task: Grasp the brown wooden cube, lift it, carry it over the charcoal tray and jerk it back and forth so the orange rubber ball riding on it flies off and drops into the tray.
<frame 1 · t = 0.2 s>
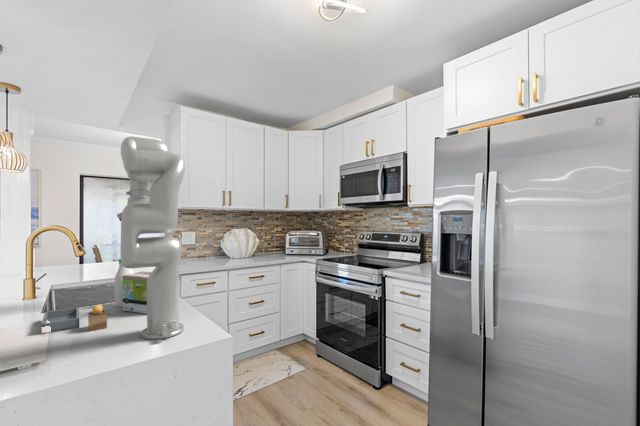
hand: (140, 233, 139), 31 cm above the table, tool pointing down, fingers open, 9 cm apart
tray: (61, 324, 113), on the table
brown wooden cube: (97, 328, 109), on the table, touching ball
tea box: (146, 310, 130), on the table
milk bottle: (125, 305, 137), on the table
ball: (97, 313, 109), point 5 cm above the table, touching brown wooden cube
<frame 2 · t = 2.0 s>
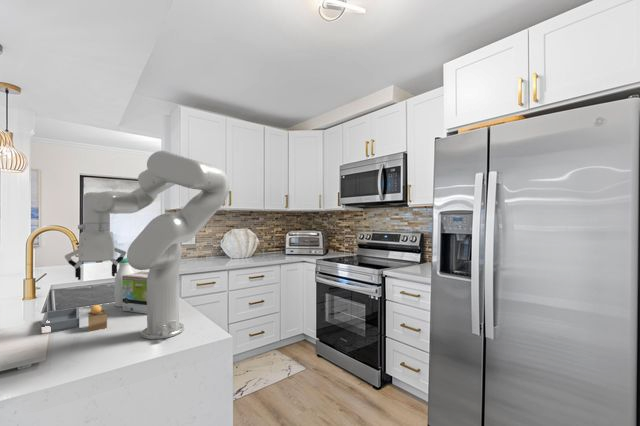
hand: (96, 277, 109), 17 cm above the table, tool pointing down, fingers open, 9 cm apart
ball: (97, 313, 109), point 5 cm above the table, tilted 17°, touching brown wooden cube
everything else where it was.
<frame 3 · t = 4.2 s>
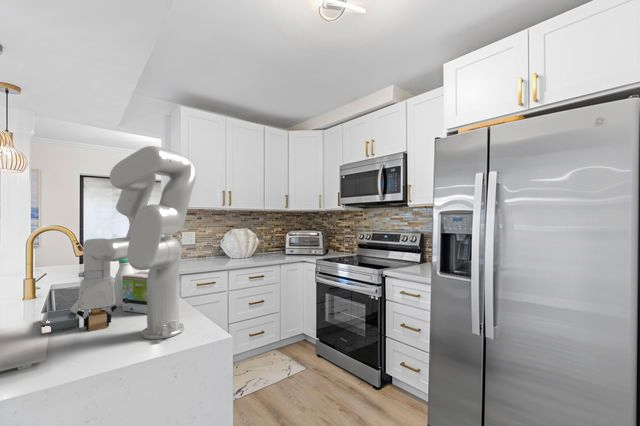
hand: (97, 326, 109), 0 cm above the table, tool pointing down, fingers closed on brown wooden cube, 5 cm apart
brown wooden cube: (97, 327, 109), on the table, touching ball, gripper
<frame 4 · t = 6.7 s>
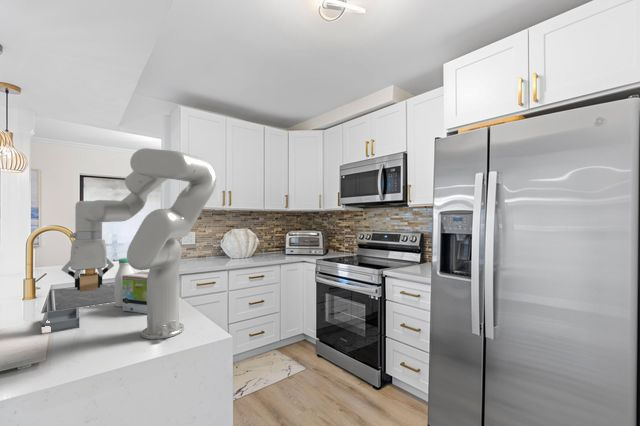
hand: (88, 287, 110), 14 cm above the table, tool pointing down, fingers closed on brown wooden cube, 5 cm apart
brown wooden cube: (88, 289, 110), point 13 cm above the table, touching ball, gripper
ball: (89, 274, 110), point 18 cm above the table, tilted 35°, touching brown wooden cube
everything else where it was.
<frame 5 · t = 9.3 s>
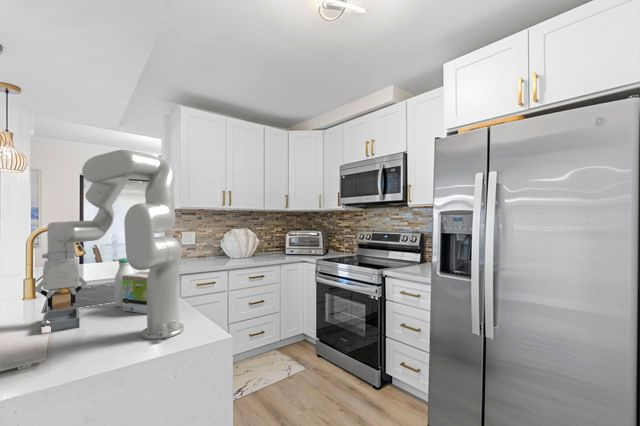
hand: (61, 306, 113), 6 cm above the table, tool pointing down, fingers closed on brown wooden cube, 5 cm apart
brown wooden cube: (61, 307, 113), point 6 cm above the table, touching ball, gripper
ball: (62, 291, 113), point 11 cm above the table, tilted 52°, touching brown wooden cube
everything else where it was.
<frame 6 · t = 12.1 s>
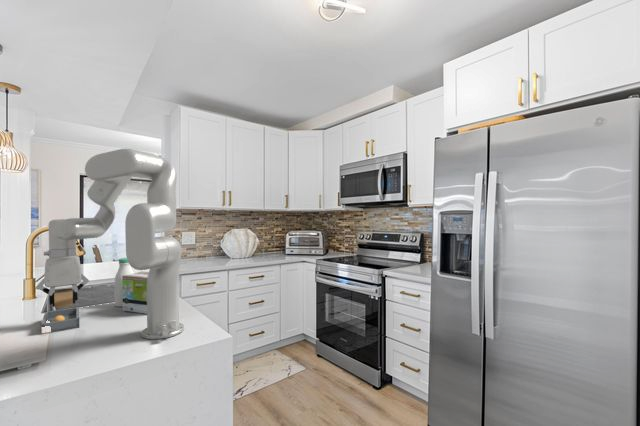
hand: (64, 303, 113), 7 cm above the table, tool pointing down, fingers closed on brown wooden cube, 5 cm apart
brown wooden cube: (64, 305, 113), point 7 cm above the table, touching gripper
ball: (57, 315, 110), point 4 cm above the table, tilted 165°, touching tray
everything else where it was.
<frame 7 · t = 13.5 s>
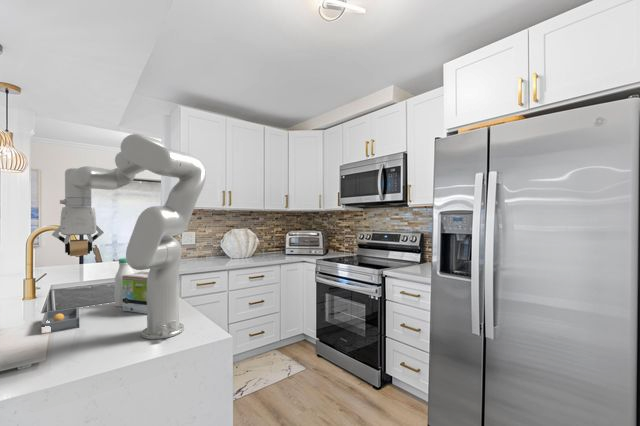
hand: (79, 253, 113), 25 cm above the table, tool pointing down, fingers closed on brown wooden cube, 5 cm apart
brown wooden cube: (79, 254, 113), point 25 cm above the table, touching gripper
ball: (57, 318, 114), point 2 cm above the table, tilted 68°, touching tray
everything else where it was.
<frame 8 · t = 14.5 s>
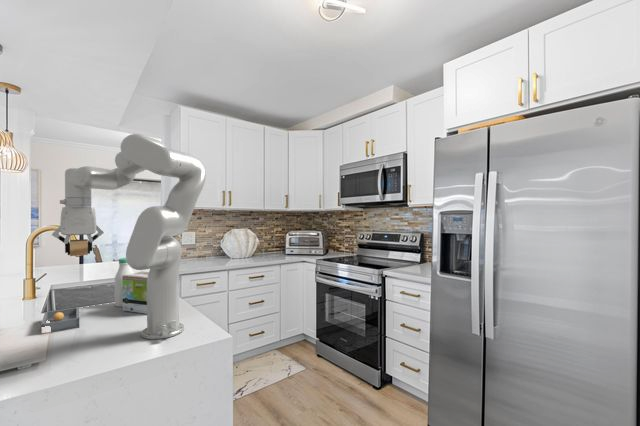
hand: (79, 253, 113), 25 cm above the table, tool pointing down, fingers closed on brown wooden cube, 5 cm apart
brown wooden cube: (79, 254, 113), point 25 cm above the table, touching gripper
ball: (57, 320, 114), point 1 cm above the table, tilted 19°, touching tray
everything else where it was.
at the end: ball inside the target area on the tray (2.4 cm from its centre), point 0.9 cm above the tray's base; ball point 0.9 cm above the table; ball touching tray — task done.
